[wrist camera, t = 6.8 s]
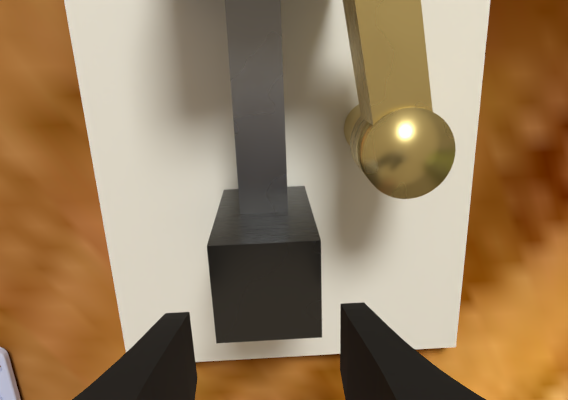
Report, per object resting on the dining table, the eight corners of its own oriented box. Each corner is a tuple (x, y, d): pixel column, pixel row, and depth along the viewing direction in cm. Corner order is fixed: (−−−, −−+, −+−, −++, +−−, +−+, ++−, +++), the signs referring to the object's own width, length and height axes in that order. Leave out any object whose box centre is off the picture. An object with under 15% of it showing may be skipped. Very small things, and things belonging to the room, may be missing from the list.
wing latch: (409, -56, 14) (435, -76, 11) (433, 170, 16) (459, 188, 14) (319, -35, 14) (329, -51, 12) (356, 187, 16) (370, 207, 14)
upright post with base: (306, 258, 20) (322, 337, 14) (230, 262, 20) (216, 343, 14) (295, -178, 15) (314, -316, 9) (193, -176, 15) (150, -314, 9)
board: (447, 334, 23) (482, 387, 19) (134, 352, 22) (109, 410, 19) (495, -189, 16) (563, -260, 12) (44, -178, 16) (-22, -248, 12)
